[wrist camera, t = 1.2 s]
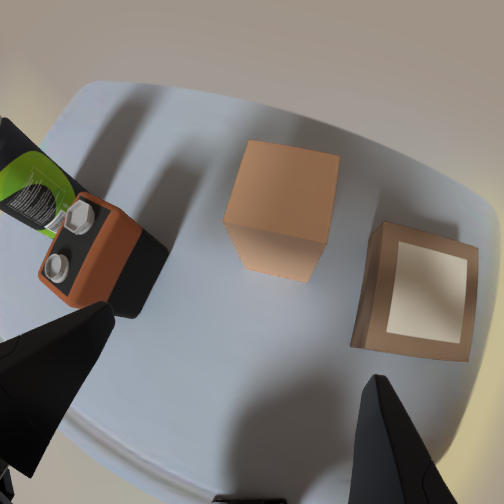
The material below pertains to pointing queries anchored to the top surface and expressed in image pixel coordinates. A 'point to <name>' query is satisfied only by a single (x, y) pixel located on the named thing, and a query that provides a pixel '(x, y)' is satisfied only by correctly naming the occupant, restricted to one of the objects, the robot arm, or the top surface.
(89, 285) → the battery
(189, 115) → the top surface
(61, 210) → the beverage can
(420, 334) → the foundation block
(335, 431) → the top surface
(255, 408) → the top surface
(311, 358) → the top surface
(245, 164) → the pillar block
